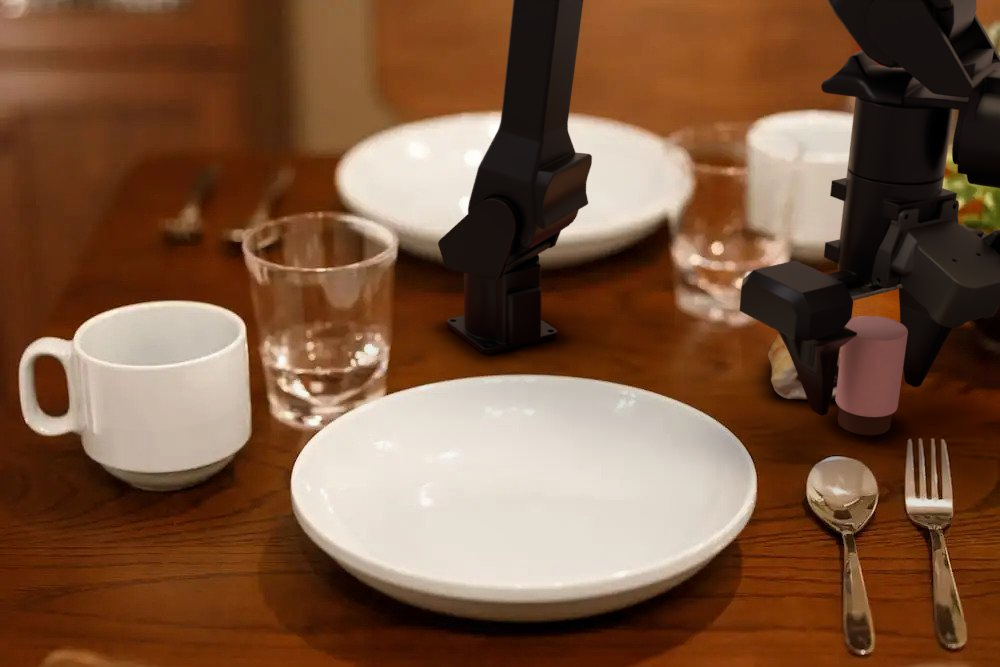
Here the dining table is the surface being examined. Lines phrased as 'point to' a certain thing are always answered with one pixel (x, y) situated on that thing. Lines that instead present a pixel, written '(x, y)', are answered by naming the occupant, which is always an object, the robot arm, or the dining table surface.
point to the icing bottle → (870, 374)
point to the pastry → (789, 372)
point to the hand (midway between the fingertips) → (866, 398)
